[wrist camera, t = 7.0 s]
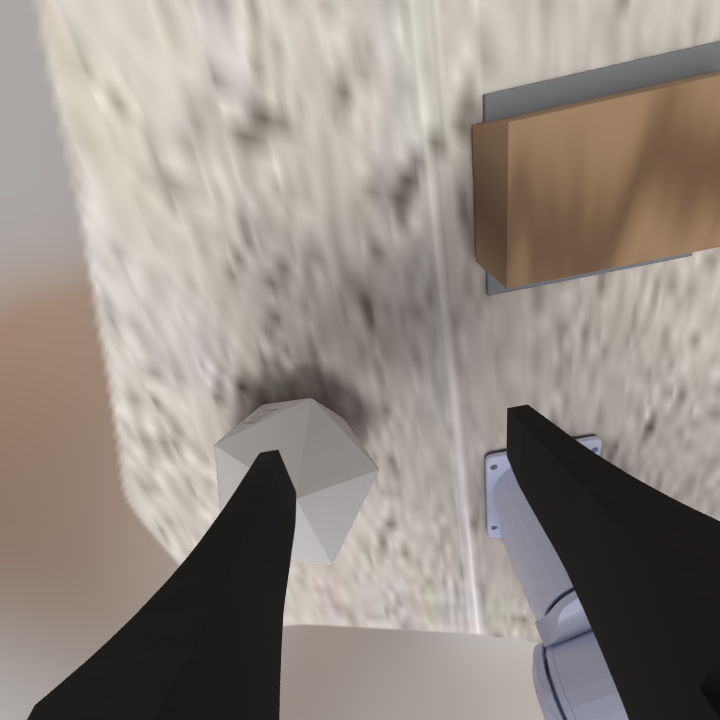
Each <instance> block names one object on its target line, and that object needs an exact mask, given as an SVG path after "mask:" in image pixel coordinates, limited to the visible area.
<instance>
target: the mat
mask: <svg viewBox="0 0 720 720" xmlns="http://www.w3.org/2000/svg"><path fill="white" fill-rule="evenodd" d="M714 71H720V42H716V43H711V44H707V45H702V46H698V47H693V48H689V49H685V50H680V51H676V52H671V53H667V54H663V55H658V56H654V57H649V58H645V59H640V60H636V61H632V62H627V63H623V64H618V65H614V66H610V67H605V68H601V69H596V70H592V71H587V72H583V73H579V74H574V75H570V76H565V77H561V78H557V79H552V80H548V81H543V82H539V83H534V84H530V85H526V86H521V87H517V88H512V89H508V90H503V91H499V92H495V93H490V94H486V95H483V118H484V123H485V122H490V121H494V120H499V119H503V118H508V117H512V116H517V115H521V114H526V113H530V112H535V111H539V110H544V109H548V108H553V107H557V106H561V105H566V104H570V103H575V102H579V101H584V100H588V99H593V98H597V97H602V96H606V95H611V94H615V93H620V92H624V91H629V90H633V89H638V88H642V87H647V86H651V85H656V84H660V83H665V82H669V81H674V80H678V79H683V78H687V77H692V76H696V75H701V74H705V73H710V72H714ZM692 253H693V252H690V253H685V254H680V255H675V256H670V257H665V258H660V259H655V260H650V261H645V262H640V263H635V264H630V265H625V266H620V267H615V268H610V269H604V270H599V271H594V272H589V273H584V274H579V275H574V276H569V277H564V278H559V279H554V280H549V281H544V282H539V283H534V284H529V285H523V286H518V287H513V288H508V289H506V288H505V287H504V286H503V285H502V284H501V283H500V282H499V281H497V280H496V279H495V278H494V277H493V276H492V275H491V274H490V273H489V272H487V271H486V289H487V295H488V296H490V295H495V294H500V293H505V292H510V291H515V290H520V289H525V288H530V287H536V286H541V285H546V284H551V283H556V282H561V281H566V280H571V279H576V278H581V277H586V276H591V275H597V274H602V273H607V272H612V271H617V270H622V269H627V268H632V267H637V266H642V265H647V264H653V263H658V262H663V261H668V260H673V259H678V258H683V257H688V256H692Z"/></svg>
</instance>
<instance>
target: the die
mask: <svg viewBox="0 0 720 720" xmlns="http://www.w3.org/2000/svg"><path fill="white" fill-rule="evenodd" d="M214 448H215V459H216V470H217V480H218V490H219V499H220V508H221V511H222V510H223V508H224V507H225V505H226V504H227V502H228V501H229V499H230V498H231V496H232V495H233V493H234V492H235V490H236V489H237V487H238V486H239V484H240V483H241V481H242V479H243V478H244V476H245V475H246V473H247V472H248V470H249V468H250V467H251V465H252V464H253V462H254V460H255V459H256V457H257V456H258V454H259V453H261V452H266V451H272V450H277V449H278V450H279V452H280V454H281V457H282V459H283V462H284V464H285V466H286V469H287V471H288V474H289V476H290V478H291V481H292V483H293V486H294V488H295V490H296V525H295V533H294V540H293V547H292V554H291V561H297V562H306V563H316V564H326V565H333V563H334V561H335V559H336V557H337V555H338V552H339V550H340V548H341V546H342V544H343V542H344V540H345V538H346V536H347V534H348V532H349V530H350V528H351V526H352V524H353V522H354V520H355V518H356V516H357V514H358V512H359V510H360V508H361V506H362V504H363V501H364V499H365V497H366V495H367V493H368V491H369V489H370V487H371V485H372V483H373V481H374V479H375V477H376V475H377V473H378V471H379V468H378V467H377V466H376V464H375V463H374V461H373V460H372V458H371V457H370V455H369V454H368V452H367V451H366V450H365V448H364V447H363V445H362V444H361V442H360V441H359V439H358V438H357V436H356V435H355V434H354V432H353V431H352V429H351V428H350V426H349V425H348V423H347V422H346V420H345V419H344V418H343V417H341V416H339V415H338V414H336V413H335V412H333V411H331V410H330V409H328V408H327V407H325V406H323V405H322V404H320V403H318V402H317V401H315V400H314V399H312V398H307V399H300V400H292V401H284V402H277V403H269V404H262V405H261V406H260V407H259V408H257V409H256V410H255V411H254V412H253V413H251V414H250V415H249V416H248V417H247V418H246V419H244V420H243V421H242V422H241V423H240V424H238V425H237V426H236V427H235V428H234V429H232V430H231V431H230V432H229V433H228V434H226V435H225V436H224V437H223V438H222V439H220V440H219V441H218V442H217V443H216V444H214Z"/></svg>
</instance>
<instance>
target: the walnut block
mask: <svg viewBox="0 0 720 720" xmlns="http://www.w3.org/2000/svg"><path fill="white" fill-rule="evenodd" d="M472 135H473V167H474V198H475V230H476V262H478V263H479V264H480V265H481V266H482V267H483V268H484V269H485V270H486V271H487V272H489V273H490V274H491V275H492V276H493V277H494V278H495V279H496V280H497V281H499V282H500V283H501V284H502V285H503V286H504V287H505V288H506V289H508V288H513V287H518V286H523V285H529V284H534V283H539V282H544V281H549V280H554V279H559V278H564V277H569V276H574V275H579V274H584V273H589V272H594V271H599V270H604V269H610V268H615V267H620V266H625V265H630V264H635V263H640V262H645V261H650V260H655V259H660V258H665V257H670V256H675V255H680V254H685V253H690V252H696V251H701V250H706V249H711V248H716V247H720V71H714V72H710V73H705V74H701V75H696V76H692V77H687V78H683V79H678V80H674V81H669V82H665V83H660V84H656V85H651V86H647V87H642V88H638V89H633V90H629V91H624V92H620V93H615V94H611V95H606V96H602V97H597V98H593V99H588V100H584V101H579V102H575V103H570V104H566V105H561V106H557V107H553V108H548V109H544V110H539V111H535V112H530V113H526V114H521V115H517V116H512V117H508V118H503V119H499V120H494V121H490V122H485V123H481V124H476V125H472Z"/></svg>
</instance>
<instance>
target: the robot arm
mask: <svg viewBox="0 0 720 720" xmlns="http://www.w3.org/2000/svg"><path fill="white" fill-rule="evenodd" d="M601 447H602V441H601V439H600V438H599V437H597V436H591V437H585V438H579V439H574V438H572V437H571V436H570V435H568V434H567V433H565V432H564V431H563V430H561V429H560V428H559V427H557V426H556V425H555V424H553V423H552V422H551V421H549V420H548V419H546V418H545V417H544V416H542V415H541V414H540V413H538V412H537V411H536V410H534V409H533V408H532V407H530V406H529V405H523V406H517V407H511V408H507V451H504V452H499V453H493V454H489V455H488V456H487V457H486V458H485V478H486V516H487V534H488V537H489V538H492V539H495V538H501V537H502V540H503V542H504V545H505V547H506V550H507V552H508V555H509V557H510V559H511V562H512V564H513V567H514V569H515V572H516V574H517V577H518V579H519V582H520V584H521V587H522V589H523V591H524V594H525V596H526V599H527V601H528V604H529V606H530V608H531V610H532V612H533V614H534V615H535V617H536V618H537V621H536V622H535V625H536V627H537V630H538V632H539V635H540V637H541V640H542V642H541V643H538V644H537V645H536V646H535V648H534V651H533V665H532V673H533V681H534V686H535V691H536V694H537V698H538V701H539V704H540V707H541V710H542V712H543V715H544V718H545V720H720V521H718V520H716V519H714V518H712V517H710V516H707V515H705V514H703V513H701V512H699V511H697V510H695V509H693V508H690V507H688V506H686V505H684V504H682V503H680V502H678V501H676V500H674V499H673V498H671V497H669V496H667V495H665V494H663V493H661V492H659V491H658V490H656V489H654V488H652V487H650V486H648V485H647V484H645V483H643V482H641V481H639V480H638V479H636V478H634V477H632V476H631V475H629V474H627V473H626V472H624V471H622V470H621V469H619V468H618V467H616V466H614V465H613V464H611V463H610V462H608V461H606V460H605V459H603V458H602V457H600V452H601ZM492 465H493V466H492ZM295 525H296V490H295V488H294V486H293V483H292V481H291V478H290V476H289V474H288V471H287V469H286V466H285V464H284V462H283V459H282V457H281V454H280V452H279V450H278V449H277V450H272V451H266V452H261V453H259V454H258V456H257V457H256V459H255V460H254V462H253V464H252V465H251V467H250V468H249V470H248V472H247V473H246V475H245V476H244V478H243V479H242V481H241V483H240V484H239V486H238V487H237V489H236V490H235V492H234V493H233V495H232V496H231V498H230V499H229V501H228V502H227V504H226V505H225V507H224V508H223V510H222V511H221V513H220V514H219V516H218V517H217V519H216V520H215V521H214V523H213V524H212V525H211V527H210V528H209V530H208V531H207V532H206V534H205V535H204V536H203V538H202V539H201V541H200V542H199V543H198V544H197V546H196V547H195V548H194V550H193V551H192V552H191V553H190V555H189V556H188V557H187V558H186V560H185V561H184V562H183V563H182V564H181V565H180V567H179V568H178V569H177V570H176V571H175V573H174V574H173V575H172V576H171V577H170V578H169V579H168V581H167V582H166V583H165V584H164V585H163V586H162V587H161V588H160V589H159V590H158V591H157V592H156V593H155V594H154V596H153V597H152V598H151V599H150V600H149V601H148V602H147V603H146V604H145V605H144V606H143V607H142V608H141V609H140V610H139V612H138V613H137V614H136V615H135V616H134V617H133V618H132V619H131V620H129V621H128V623H126V624H125V626H123V627H122V628H121V629H120V630H119V631H118V632H117V633H116V634H115V635H114V636H113V637H112V638H111V639H110V640H109V641H108V642H107V643H106V644H104V645H103V646H102V647H101V648H100V649H99V650H98V651H97V652H96V653H95V654H94V655H93V656H91V657H90V658H89V659H88V660H87V661H86V662H85V663H84V664H83V665H81V666H80V667H79V668H78V669H77V670H76V671H74V672H73V673H72V674H71V675H70V676H69V677H67V678H66V679H65V680H64V681H63V682H62V683H61V684H59V685H58V686H57V687H56V688H55V689H54V690H52V691H51V692H50V693H49V694H48V695H47V696H45V697H44V698H43V699H42V700H41V701H39V702H38V703H37V704H36V705H35V706H34V708H33V710H32V712H31V713H30V715H29V717H28V719H27V720H279V707H280V703H279V702H280V672H281V646H282V628H283V613H284V603H285V595H286V588H287V581H288V574H289V568H290V561H291V554H292V547H293V540H294V533H295Z"/></svg>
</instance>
